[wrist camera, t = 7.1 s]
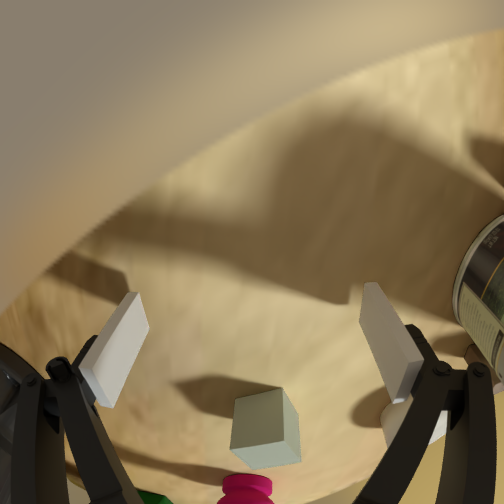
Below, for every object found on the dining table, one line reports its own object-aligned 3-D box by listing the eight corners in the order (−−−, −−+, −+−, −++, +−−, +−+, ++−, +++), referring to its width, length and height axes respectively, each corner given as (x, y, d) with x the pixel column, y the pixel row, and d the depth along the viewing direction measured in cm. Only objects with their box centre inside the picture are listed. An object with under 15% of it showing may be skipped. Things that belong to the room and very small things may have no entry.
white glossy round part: (372, 432, 24) (379, 459, 21) (389, 390, 21) (400, 421, 18) (430, 418, 24) (440, 443, 21) (453, 376, 21) (468, 402, 18)
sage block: (255, 422, 23) (252, 469, 19) (235, 398, 22) (229, 449, 17) (298, 413, 23) (301, 461, 18) (282, 387, 21) (284, 440, 17)
